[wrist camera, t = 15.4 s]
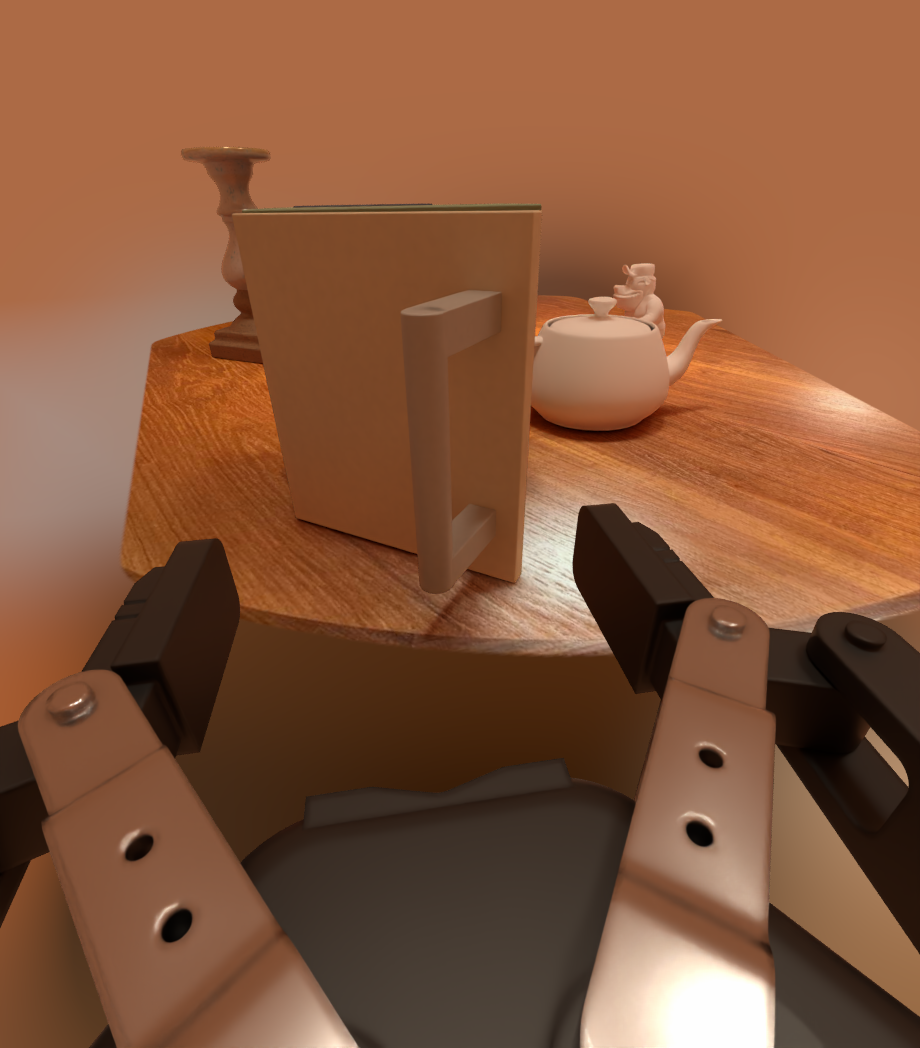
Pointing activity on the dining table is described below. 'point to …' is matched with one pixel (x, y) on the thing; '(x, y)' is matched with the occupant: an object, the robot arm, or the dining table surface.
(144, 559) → the dining table surface
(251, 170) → the candle holder
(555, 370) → the teapot
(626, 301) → the figurine
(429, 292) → the peach cabinet door
